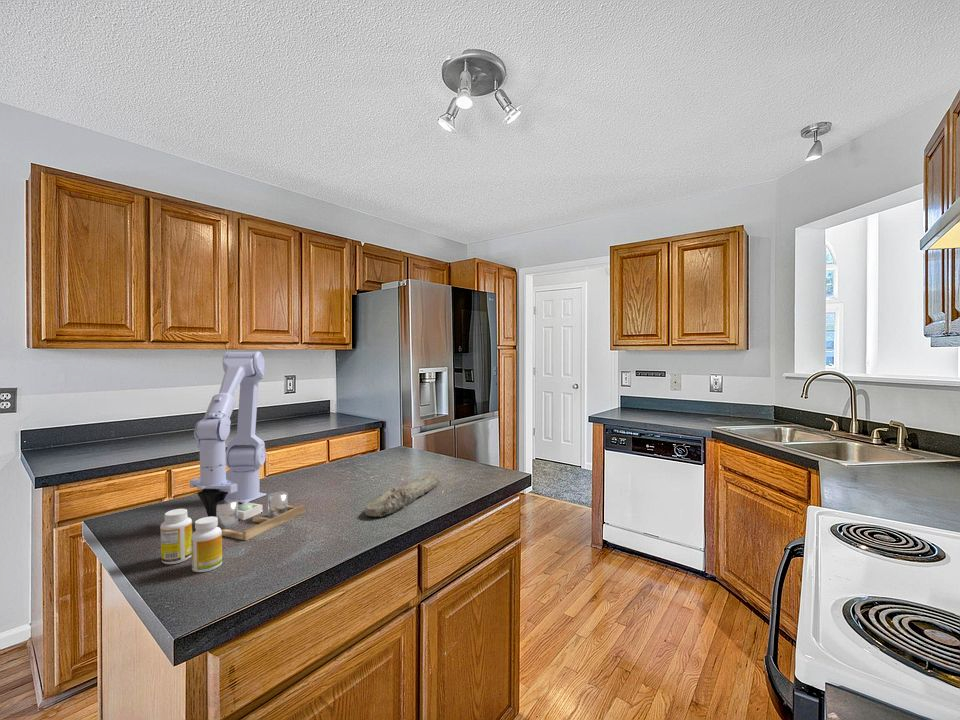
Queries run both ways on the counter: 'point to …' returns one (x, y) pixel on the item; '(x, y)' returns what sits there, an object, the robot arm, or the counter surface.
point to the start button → (245, 506)
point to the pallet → (265, 523)
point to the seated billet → (277, 503)
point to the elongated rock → (400, 496)
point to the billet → (227, 513)
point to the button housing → (250, 511)
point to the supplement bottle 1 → (176, 537)
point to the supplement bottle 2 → (206, 545)
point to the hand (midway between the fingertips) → (213, 517)
